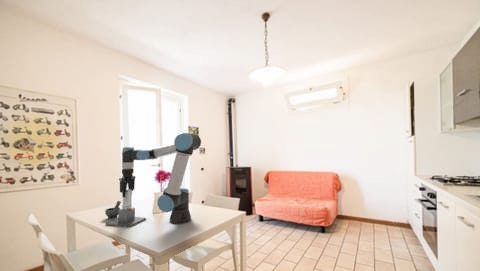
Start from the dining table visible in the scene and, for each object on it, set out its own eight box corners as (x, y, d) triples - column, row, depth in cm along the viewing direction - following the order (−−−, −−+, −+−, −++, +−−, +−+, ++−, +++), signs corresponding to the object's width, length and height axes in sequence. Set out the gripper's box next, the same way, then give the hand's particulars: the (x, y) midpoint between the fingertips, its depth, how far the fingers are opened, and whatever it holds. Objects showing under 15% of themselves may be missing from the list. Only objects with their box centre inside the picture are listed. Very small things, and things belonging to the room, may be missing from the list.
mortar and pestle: (110, 221, 156) (110, 204, 157) (102, 219, 160) (102, 203, 161) (124, 216, 166) (124, 201, 167) (116, 215, 170) (116, 199, 171)
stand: (146, 219, 158) (146, 205, 158) (130, 227, 142) (130, 211, 143) (123, 218, 162) (123, 204, 163) (105, 225, 147) (106, 210, 147)
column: (131, 213, 154) (132, 189, 155) (127, 214, 150) (127, 190, 151) (125, 212, 155) (126, 189, 156) (121, 214, 151) (122, 190, 152)
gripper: (131, 167, 164) (131, 198, 162) (114, 169, 147) (113, 203, 146) (140, 167, 162) (139, 198, 161) (123, 169, 146) (122, 204, 144)
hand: (127, 200), depth 153 cm, fingers closed on column, 4 cm apart
